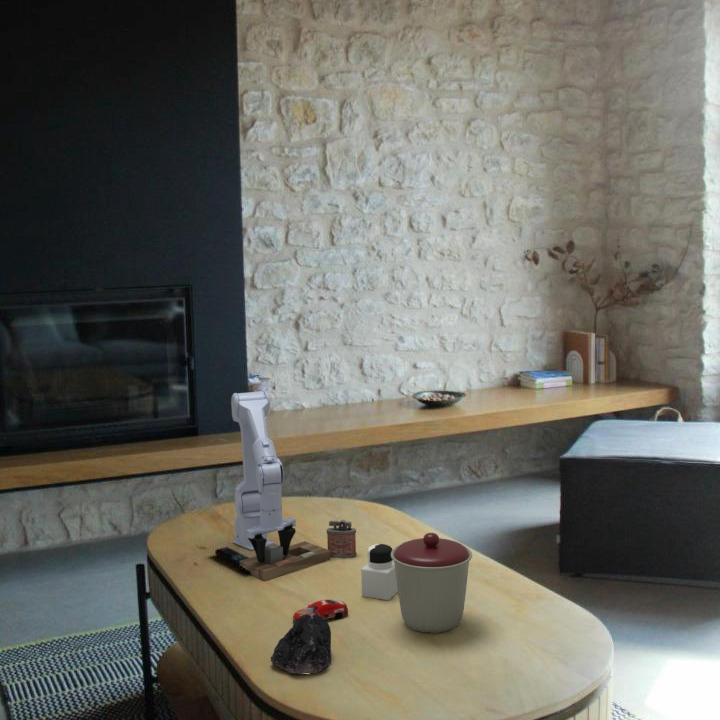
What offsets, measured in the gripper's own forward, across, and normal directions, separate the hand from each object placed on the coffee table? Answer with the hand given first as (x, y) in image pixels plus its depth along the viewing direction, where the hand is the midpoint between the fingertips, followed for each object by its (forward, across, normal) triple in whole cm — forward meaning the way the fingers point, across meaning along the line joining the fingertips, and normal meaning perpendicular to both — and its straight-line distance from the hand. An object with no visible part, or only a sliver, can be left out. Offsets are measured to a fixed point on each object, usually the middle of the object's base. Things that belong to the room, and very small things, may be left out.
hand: (272, 558), depth 250 cm
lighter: (+3, +19, -6) cm, 20 cm away
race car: (+3, -12, -33) cm, 36 cm away
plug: (+3, 0, 0) cm, 3 cm away
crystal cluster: (+3, -28, -48) cm, 55 cm away
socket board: (+3, +4, 0) cm, 5 cm away
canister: (+3, +4, -54) cm, 54 cm away
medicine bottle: (+3, +8, -32) cm, 34 cm away
